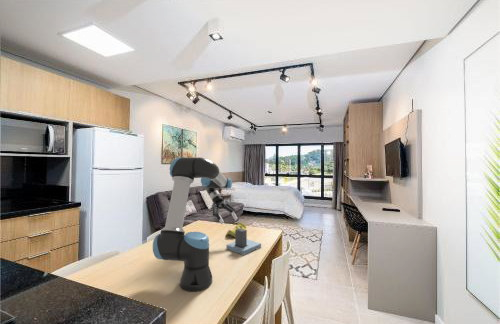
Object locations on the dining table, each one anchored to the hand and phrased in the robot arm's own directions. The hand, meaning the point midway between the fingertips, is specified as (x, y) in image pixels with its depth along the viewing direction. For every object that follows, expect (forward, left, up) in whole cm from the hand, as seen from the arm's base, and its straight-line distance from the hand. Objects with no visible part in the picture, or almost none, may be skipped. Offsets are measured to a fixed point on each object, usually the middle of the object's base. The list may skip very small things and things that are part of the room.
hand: (229, 221), depth 155 cm
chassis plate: (+3, -11, -17) cm, 20 cm away
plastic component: (+21, +14, -17) cm, 31 cm away
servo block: (0, -11, -17) cm, 20 cm away
